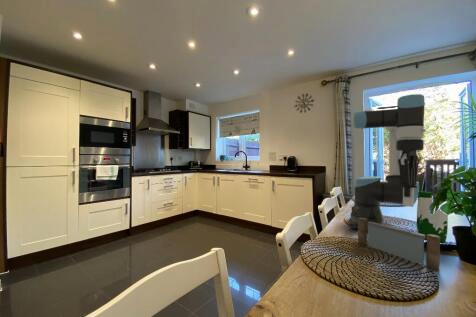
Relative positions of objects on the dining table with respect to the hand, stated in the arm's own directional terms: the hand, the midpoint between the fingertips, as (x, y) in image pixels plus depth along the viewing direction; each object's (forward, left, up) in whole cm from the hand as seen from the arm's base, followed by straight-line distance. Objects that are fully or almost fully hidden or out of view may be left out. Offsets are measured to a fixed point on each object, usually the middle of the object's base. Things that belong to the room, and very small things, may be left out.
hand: (408, 205), depth 76 cm
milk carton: (-19, +2, -17) cm, 26 cm away
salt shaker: (-7, -22, -17) cm, 29 cm away
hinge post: (+7, -12, -17) cm, 22 cm away
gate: (+7, -2, -16) cm, 18 cm away
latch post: (+7, +8, -17) cm, 20 cm away
